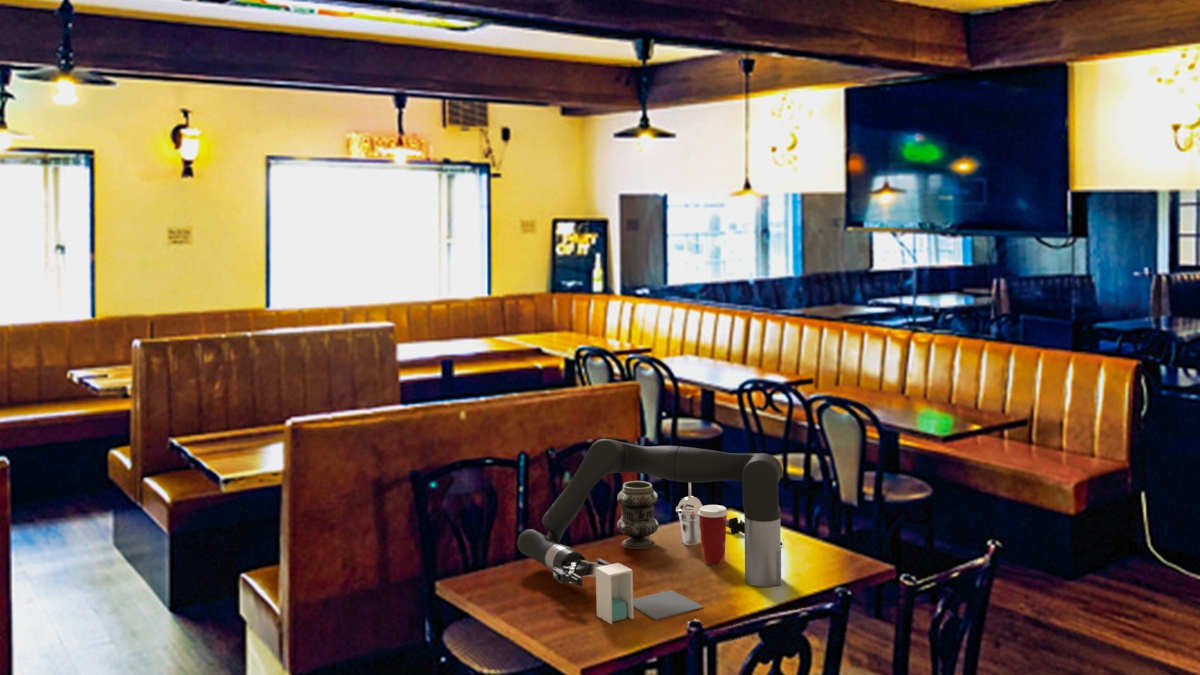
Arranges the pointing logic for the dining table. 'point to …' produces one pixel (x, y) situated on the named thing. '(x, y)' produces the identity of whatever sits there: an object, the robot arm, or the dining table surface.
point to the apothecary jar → (637, 514)
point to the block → (618, 609)
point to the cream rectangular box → (613, 589)
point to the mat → (664, 604)
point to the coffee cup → (713, 533)
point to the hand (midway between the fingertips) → (596, 579)
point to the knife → (737, 526)
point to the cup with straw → (689, 518)
